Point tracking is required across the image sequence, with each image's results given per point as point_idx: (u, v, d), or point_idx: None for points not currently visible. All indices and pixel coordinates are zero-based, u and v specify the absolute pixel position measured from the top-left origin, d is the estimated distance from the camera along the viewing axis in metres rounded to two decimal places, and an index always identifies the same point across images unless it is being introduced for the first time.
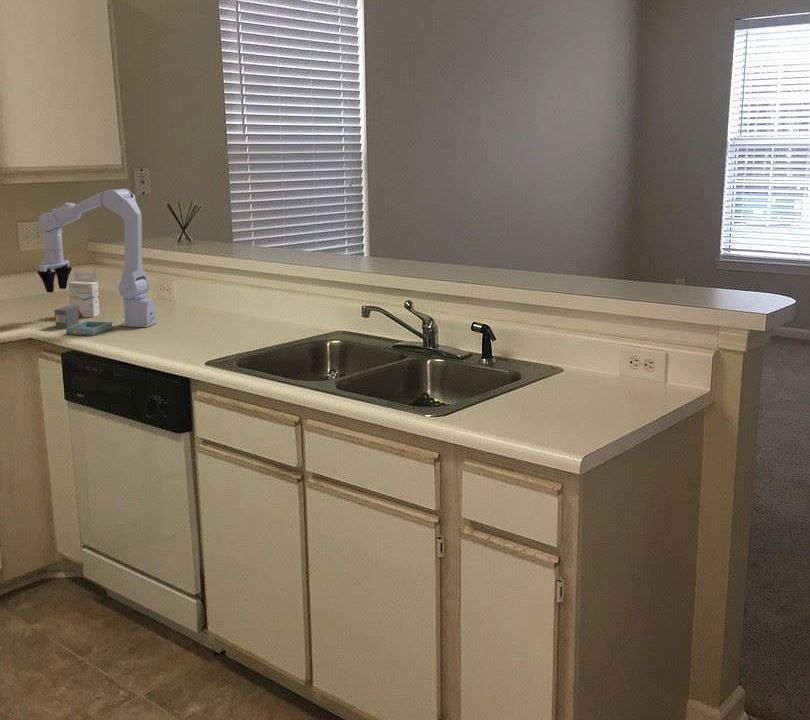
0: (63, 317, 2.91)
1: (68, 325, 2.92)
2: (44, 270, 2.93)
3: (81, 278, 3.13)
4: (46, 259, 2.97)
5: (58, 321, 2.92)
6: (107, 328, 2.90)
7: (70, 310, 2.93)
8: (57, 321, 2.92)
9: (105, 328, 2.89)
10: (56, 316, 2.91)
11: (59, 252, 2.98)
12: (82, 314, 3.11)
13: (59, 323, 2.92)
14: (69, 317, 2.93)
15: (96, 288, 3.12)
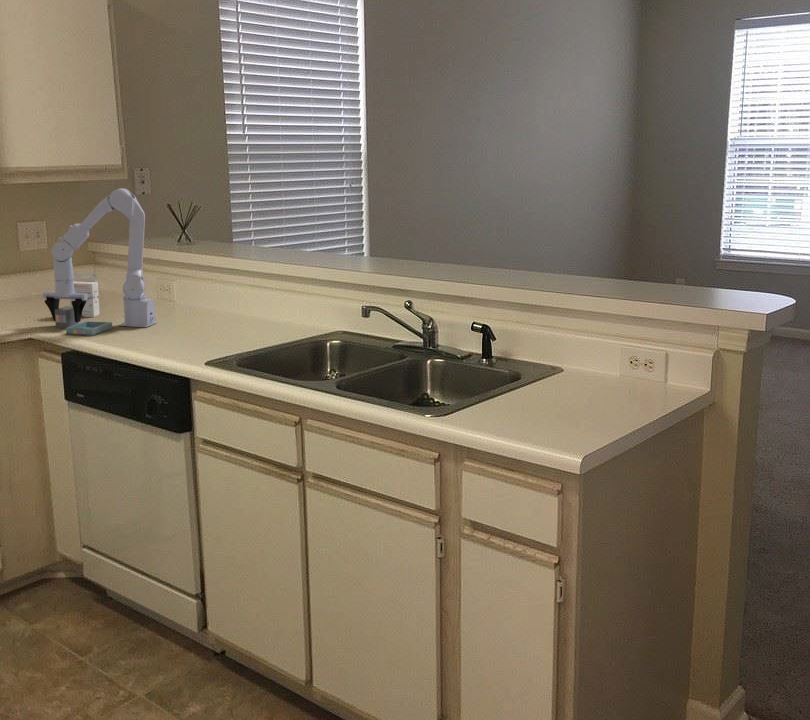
0: (63, 317, 2.91)
1: (68, 325, 2.92)
2: None
3: (81, 278, 3.13)
4: None
5: (58, 321, 2.92)
6: (107, 328, 2.90)
7: (70, 310, 2.93)
8: (57, 321, 2.92)
9: (105, 328, 2.89)
10: (56, 316, 2.91)
11: (57, 283, 2.90)
12: (82, 314, 3.11)
13: (59, 323, 2.92)
14: (69, 317, 2.93)
15: (96, 288, 3.12)
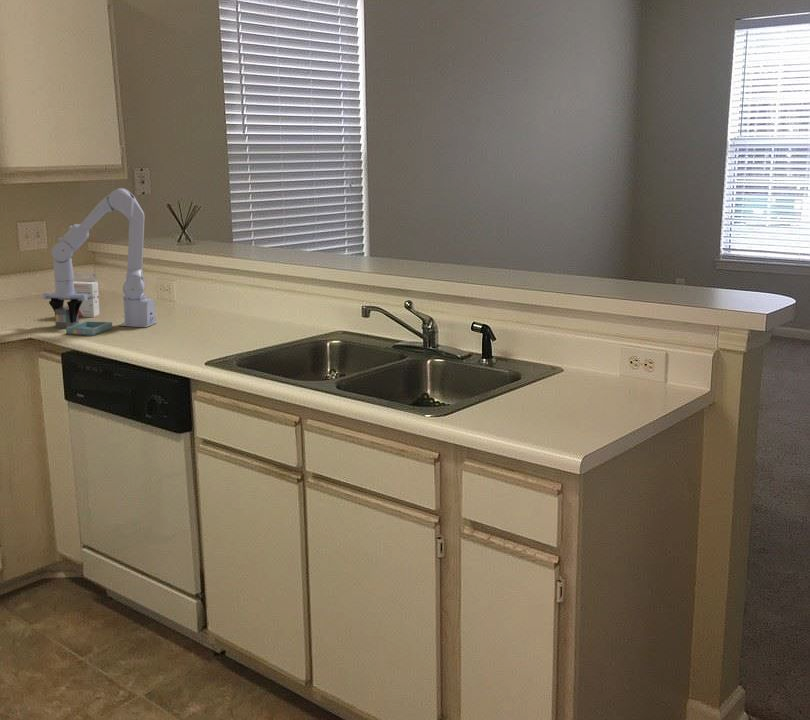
0: (63, 316, 2.91)
1: (68, 325, 2.92)
2: None
3: (81, 278, 3.13)
4: None
5: (58, 321, 2.92)
6: (107, 328, 2.90)
7: None
8: (56, 321, 2.92)
9: (105, 328, 2.89)
10: (56, 316, 2.91)
11: (57, 283, 2.90)
12: (82, 314, 3.11)
13: (59, 323, 2.92)
14: (69, 317, 2.93)
15: (96, 288, 3.12)
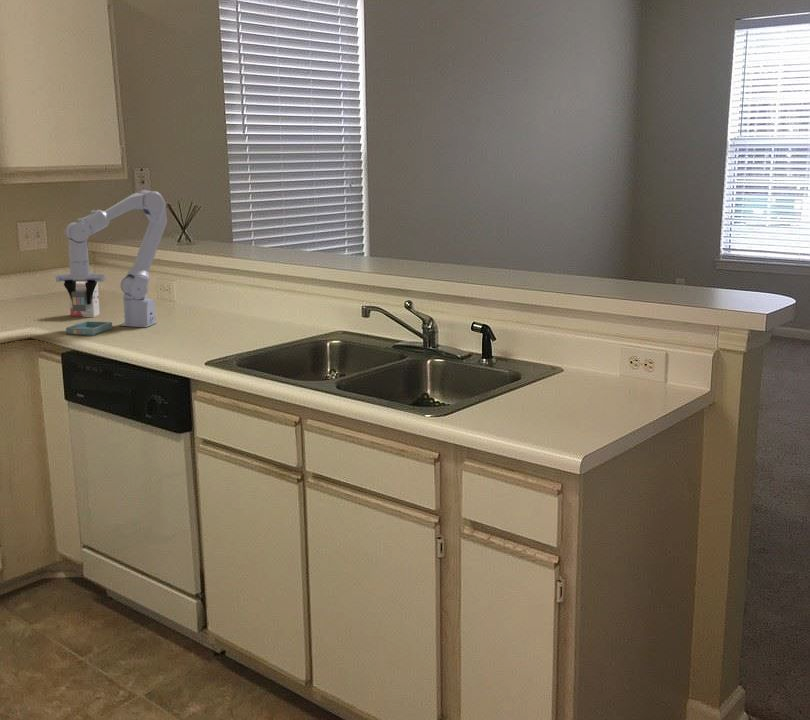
0: (81, 299, 2.84)
1: (86, 307, 2.86)
2: (56, 280, 2.85)
3: None
4: None
5: (75, 303, 2.85)
6: (107, 328, 2.90)
7: (86, 292, 2.87)
8: (74, 304, 2.84)
9: (105, 328, 2.89)
10: (73, 298, 2.84)
11: (73, 264, 2.83)
12: (82, 314, 3.11)
13: (77, 305, 2.85)
14: (86, 299, 2.86)
15: (96, 288, 3.12)
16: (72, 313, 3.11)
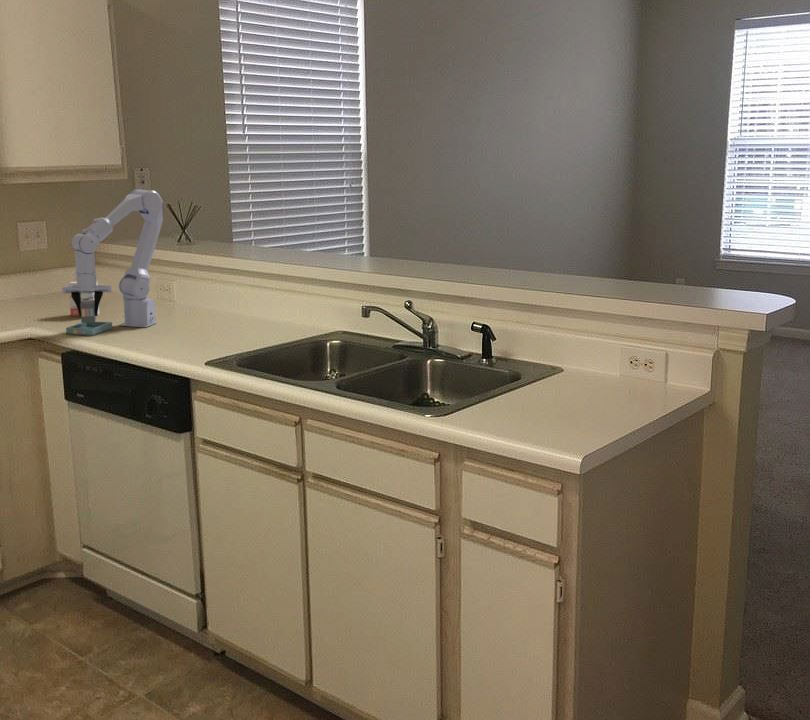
0: (90, 310, 2.83)
1: (94, 318, 2.85)
2: (62, 292, 2.83)
3: None
4: None
5: (84, 315, 2.83)
6: (107, 328, 2.90)
7: (94, 303, 2.86)
8: (83, 316, 2.83)
9: (105, 328, 2.89)
10: (82, 310, 2.83)
11: (82, 276, 2.81)
12: None
13: (86, 317, 2.83)
14: (94, 310, 2.85)
15: None
16: (72, 313, 3.11)
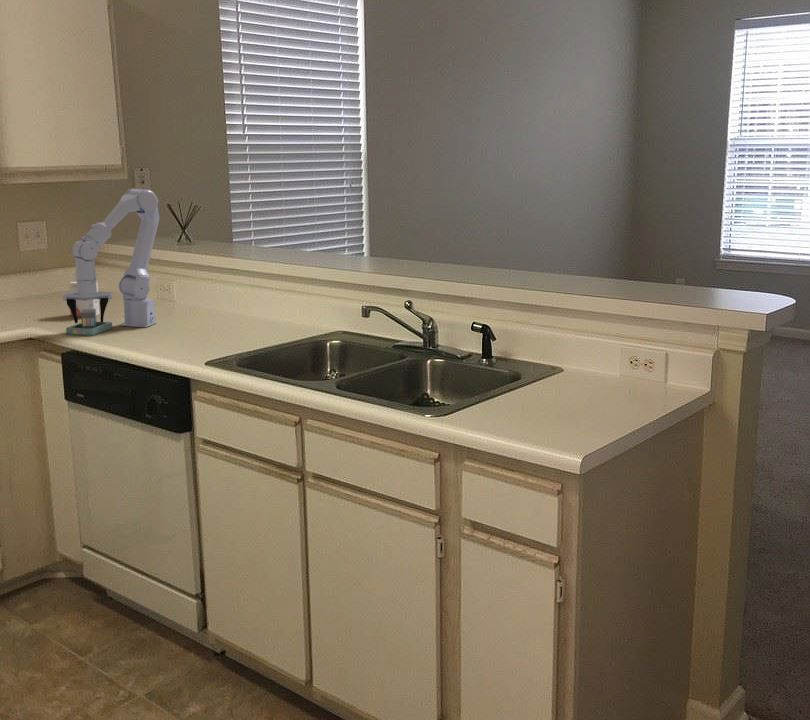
0: (90, 320, 2.84)
1: None
2: (63, 299, 2.83)
3: None
4: None
5: (85, 324, 2.84)
6: (107, 328, 2.90)
7: (95, 312, 2.86)
8: (83, 325, 2.84)
9: (105, 328, 2.89)
10: (83, 319, 2.83)
11: (82, 283, 2.82)
12: None
13: (86, 326, 2.84)
14: (95, 320, 2.86)
15: None
16: None
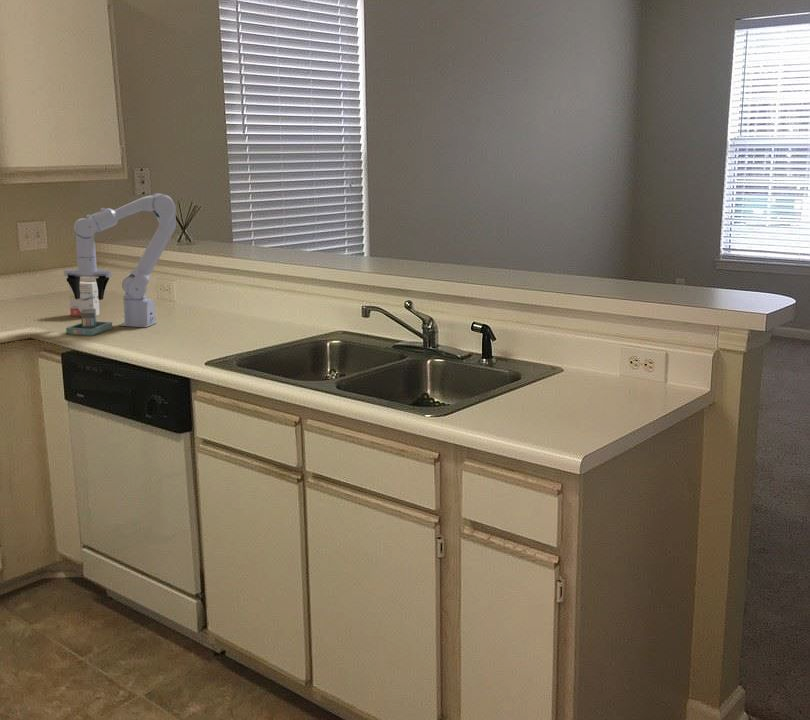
0: (90, 320, 2.84)
1: None
2: None
3: (81, 278, 3.13)
4: None
5: (85, 324, 2.84)
6: (107, 328, 2.90)
7: (95, 312, 2.86)
8: (83, 325, 2.84)
9: (105, 328, 2.89)
10: (83, 319, 2.83)
11: (80, 260, 2.86)
12: None
13: (86, 326, 2.84)
14: (95, 320, 2.86)
15: (96, 288, 3.12)
16: (72, 313, 3.11)
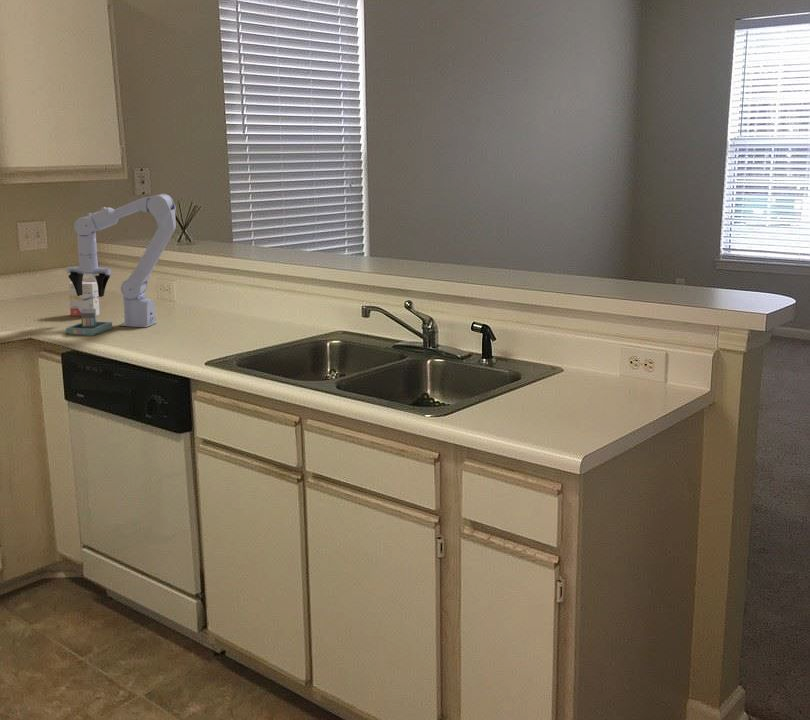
0: (90, 320, 2.84)
1: None
2: None
3: None
4: None
5: (85, 324, 2.84)
6: (107, 328, 2.90)
7: (95, 312, 2.86)
8: (83, 325, 2.84)
9: (105, 328, 2.89)
10: (83, 319, 2.83)
11: (81, 257, 2.92)
12: None
13: (86, 326, 2.84)
14: (95, 320, 2.86)
15: (96, 288, 3.12)
16: (72, 313, 3.11)
